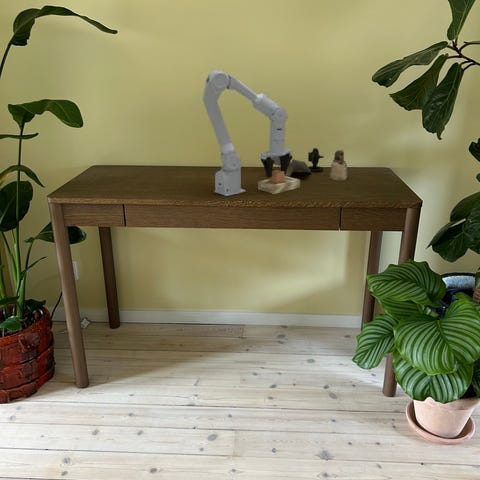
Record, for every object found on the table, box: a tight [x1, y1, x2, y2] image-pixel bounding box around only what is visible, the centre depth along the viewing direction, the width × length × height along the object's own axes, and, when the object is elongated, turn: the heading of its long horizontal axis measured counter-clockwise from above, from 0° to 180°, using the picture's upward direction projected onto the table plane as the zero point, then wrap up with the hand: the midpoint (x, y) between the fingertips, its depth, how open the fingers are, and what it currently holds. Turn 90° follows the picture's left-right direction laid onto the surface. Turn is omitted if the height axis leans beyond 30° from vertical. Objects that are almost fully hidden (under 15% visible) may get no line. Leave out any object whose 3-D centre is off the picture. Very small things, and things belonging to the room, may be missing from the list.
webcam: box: [307, 147, 325, 173], centre depth 214 cm, size 8×8×10 cm
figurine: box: [329, 149, 348, 182], centre depth 200 cm, size 7×7×12 cm
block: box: [268, 169, 284, 184], centre depth 187 cm, size 4×4×7 cm
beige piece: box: [257, 176, 301, 195], centre depth 189 cm, size 14×9×3 cm, turn 130°
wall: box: [271, 156, 312, 177], centre depth 206 cm, size 19×10×17 cm
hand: (276, 175), depth 186 cm, fingers open, 7 cm apart
